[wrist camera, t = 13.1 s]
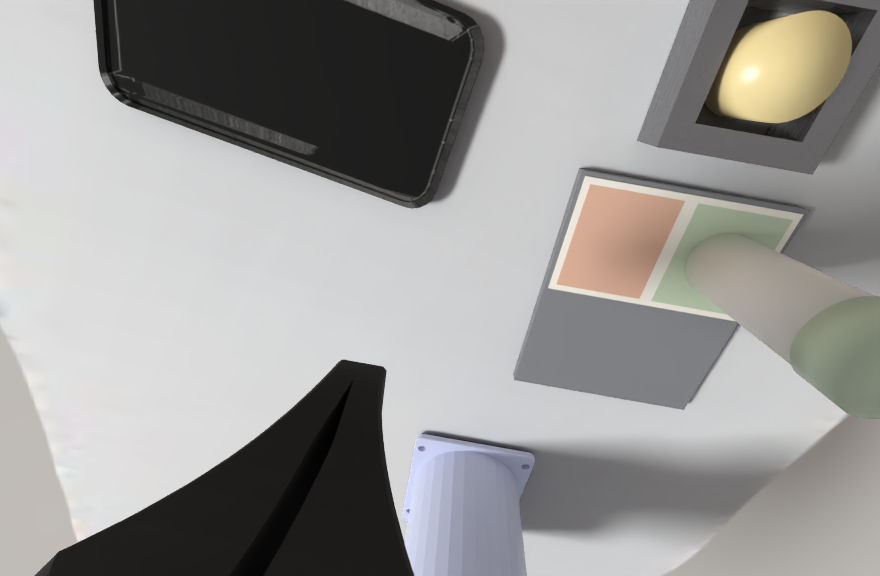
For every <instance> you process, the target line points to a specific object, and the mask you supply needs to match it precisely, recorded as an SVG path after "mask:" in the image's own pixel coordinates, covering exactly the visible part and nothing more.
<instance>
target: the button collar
mask: <svg viewBox="0 0 880 576" xmlns="http://www.w3.org/2000/svg"><path fill="white" fill-rule="evenodd" d="M746 6H749V7H755V8H760V9H766V10H772V11H777V12H783V13H789V14H798V13H802V12H807V11H816V10H819V11H827V12H830V13H833V14H835V15H837V16H838V17H840V18H841V19H842V20H843V21H844V22H845V24H846V25H847V27H848V29H849V31H850V34H851V39H852V52H851V58H850V61H849V65H848V67H847V70H846V72H845V74H844V76H843V78H842V80H841V81H840V83H839V84H838V86H837V87H836V88H835V90H834V91H833V92H832V93H831V95H830V96H829V97H828V98H827V99H826V100H825V101H824V102H822V103H821V104H820V105H819V106H818V107H816V108H815V109H814V110H812V111H810V112H809V113H807V114H805V115H803V116H801V117H799V118H797V119H794V120H791V121H788V122H782V123H772V125H771V127H770V129H769V131H768V133H767V135H766V136H764V135H759V134H753V133H747V132H742V131H736V130H730V129H725V128H719V127H713V126H708V125H702V124H696V123H695V122H696V120H697V118H698V116H699V113H700V111H701V109H702V106H703V104H704V102H705V100H706V97H707V95H708V93H709V90H710V88H711V86H712V84H713V81H714V79H715V77H716V74H717V72H718V70H719V68H720V65H721V63H722V61H723V58H724V56H725V54H726V52H727V49H728V47H729V45H730V42H731V40H732V38H733V35H734V33H735V31H736V29H737V26H738V24H739V22H740V19H741V17H742V15H743V13H744V10H745V8H746ZM879 64H880V0H690V2H689V4H688V7H687V10H686V12H685V15H684V18H683V20H682V23H681V26H680V28H679V31H678V34H677V36H676V39H675V42H674V44H673V47H672V50H671V52H670V55H669V57H668V60H667V63H666V65H665V68H664V71H663V73H662V76H661V79H660V81H659V84H658V87H657V89H656V92H655V95H654V97H653V100H652V102H651V105H650V108H649V110H648V113H647V116H646V118H645V121H644V124H643V126H642V129H641V132H640V134H639V137H638V140H637V141H640V142H643V143H646V144H649V145H653V146H656V147H660V148H666V149H671V150H677V151H683V152H688V153H694V154H700V155H705V156H711V157H717V158H722V159H728V160H734V161H739V162H745V163H751V164H756V165H762V166H768V167H773V168H779V169H784V170H790V171H796V172H801V173H807V174H813V173H814V171H815V169H816V168H817V166H818V164H819V163H820V161H821V159H822V158H823V156H824V154H825V153H826V151H827V149H828V148H829V146H830V145H831V143H832V141H833V140H834V138H835V136H836V135H837V133H838V131H839V130H840V128H841V126H842V125H843V123H844V121H845V120H846V118H847V117H848V115H849V113H850V112H851V110H852V108H853V107H854V105H855V103H856V102H857V100H858V98H859V97H860V95H861V93H862V92H863V90H864V89H865V87H866V85H867V84H868V82H869V80H870V79H871V77H872V75H873V74H874V72H875V70H876V69H877V67H878V65H879Z"/></svg>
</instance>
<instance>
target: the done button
mask: <svg viewBox="0 0 880 576" xmlns="http://www.w3.org/2000/svg"><path fill="white" fill-rule="evenodd" d="M851 52H852V39H851V34H850V31H849V29H848V27H847V25H846V24H845V22H844V21H843V20H842V19H841V18H840V17H838V16H837V15H835V14H833V13H830V12H827V11H819V10H816V11H807V12H802V13H798V14H793V15H789V16H785V17H780V18H776V19H772V20H767V21H763V22H759V23H754V24H750V25H747V26H744V27H742V28H740V29H738V30H736V31H735V33H734V35H733V38H732V40H731V42H730V45H729V47H728V49H727V52H726V54H725V56H724V58H723V61H722V63H721V65H720V68H719V70H718V72H717V74H716V77H715V79H714V81H713V84H712V86H711V88H710V90H709V93H708V95H707V97H706V100H705V104H706V106H707V107H708V108H709V109H710V110H711V111H712V112H713V113H715V114H716V115H719V116H721V117H725V118H733V119H742V120H750V121H758V122H767V123H782V122H788V121H791V120H794V119H797V118H799V117H801V116H803V115H805V114H807V113H809V112H810V111H812V110H814V109H815V108H816V107H818V106H819V105H820V104H821V103H822V102H824V101H825V100H826V99H827V98H828V97H829V96H830V95H831V93H832V92H833V91H834V90H835V88H836V87H837V86H838V84H839V83H840V81H841V80H842V78H843V76H844V74H845V72H846V70H847V67H848V65H849V61H850V58H851Z"/></svg>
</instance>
